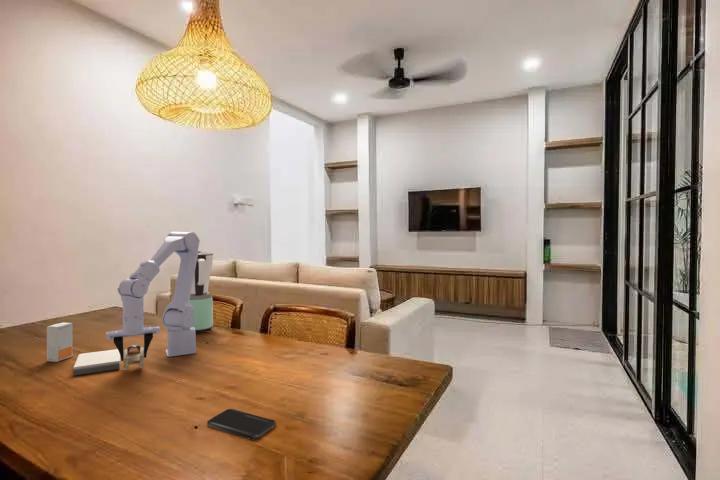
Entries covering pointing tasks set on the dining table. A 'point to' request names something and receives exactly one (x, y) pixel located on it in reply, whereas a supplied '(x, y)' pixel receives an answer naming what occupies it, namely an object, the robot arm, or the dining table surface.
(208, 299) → the juicer
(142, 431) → the dining table surface
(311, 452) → the dining table surface
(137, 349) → the drum
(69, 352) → the skincare box
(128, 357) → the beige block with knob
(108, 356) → the dock
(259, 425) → the phone
